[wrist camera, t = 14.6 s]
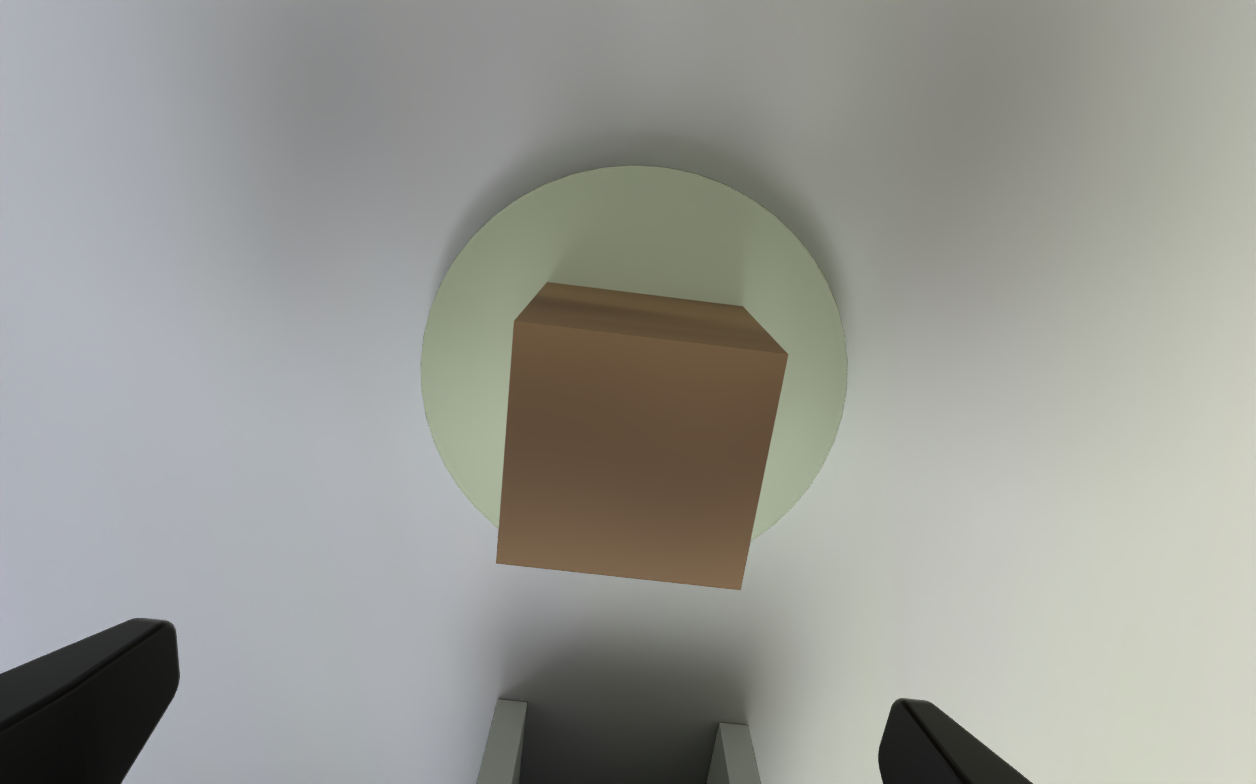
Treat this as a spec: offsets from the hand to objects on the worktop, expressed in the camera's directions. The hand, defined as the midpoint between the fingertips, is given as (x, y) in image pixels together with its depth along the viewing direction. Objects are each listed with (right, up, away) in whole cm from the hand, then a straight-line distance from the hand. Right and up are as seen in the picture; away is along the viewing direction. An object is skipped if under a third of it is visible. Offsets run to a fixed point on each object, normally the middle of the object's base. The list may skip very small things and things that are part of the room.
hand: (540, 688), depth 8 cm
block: (+1, +4, +6) cm, 7 cm away
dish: (+1, +4, +7) cm, 8 cm away
